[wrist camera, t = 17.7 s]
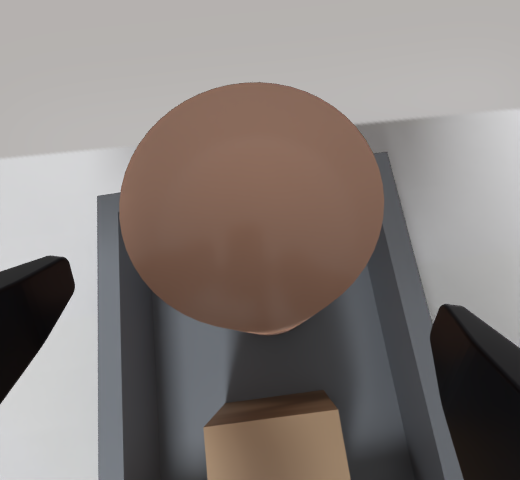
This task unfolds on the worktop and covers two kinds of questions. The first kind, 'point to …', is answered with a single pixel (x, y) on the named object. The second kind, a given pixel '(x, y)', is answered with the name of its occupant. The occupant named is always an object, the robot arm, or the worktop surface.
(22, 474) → the worktop surface
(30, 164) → the worktop surface
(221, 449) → the walnut cube
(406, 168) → the worktop surface
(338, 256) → the terracotta cylinder
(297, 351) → the tote
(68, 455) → the worktop surface
